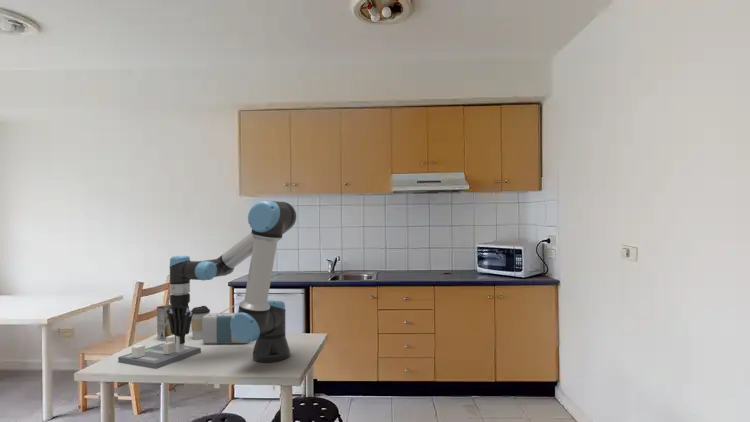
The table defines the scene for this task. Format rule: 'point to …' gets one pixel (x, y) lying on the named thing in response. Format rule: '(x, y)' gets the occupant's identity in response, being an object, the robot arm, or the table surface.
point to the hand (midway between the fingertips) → (180, 351)
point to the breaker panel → (158, 356)
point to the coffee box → (163, 322)
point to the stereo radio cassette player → (218, 328)
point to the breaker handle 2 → (170, 338)
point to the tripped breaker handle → (169, 347)
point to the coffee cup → (198, 321)
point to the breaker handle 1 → (138, 351)
